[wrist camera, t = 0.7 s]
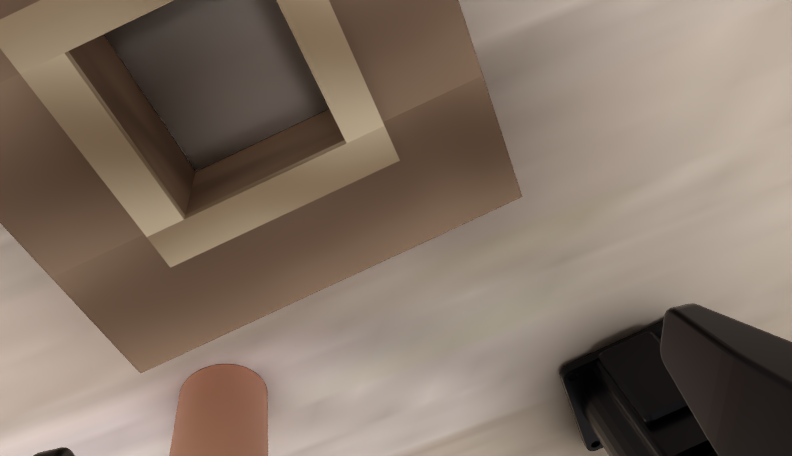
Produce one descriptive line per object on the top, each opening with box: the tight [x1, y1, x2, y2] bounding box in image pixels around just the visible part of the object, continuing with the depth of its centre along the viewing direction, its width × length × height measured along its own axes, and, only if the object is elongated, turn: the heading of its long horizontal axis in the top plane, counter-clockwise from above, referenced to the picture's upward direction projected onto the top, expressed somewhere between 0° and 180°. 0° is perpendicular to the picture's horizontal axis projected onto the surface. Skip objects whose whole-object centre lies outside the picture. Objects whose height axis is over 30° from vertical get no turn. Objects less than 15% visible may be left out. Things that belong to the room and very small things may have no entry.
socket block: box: [0, 0, 522, 373], centre depth 17 cm, size 14×14×4 cm
